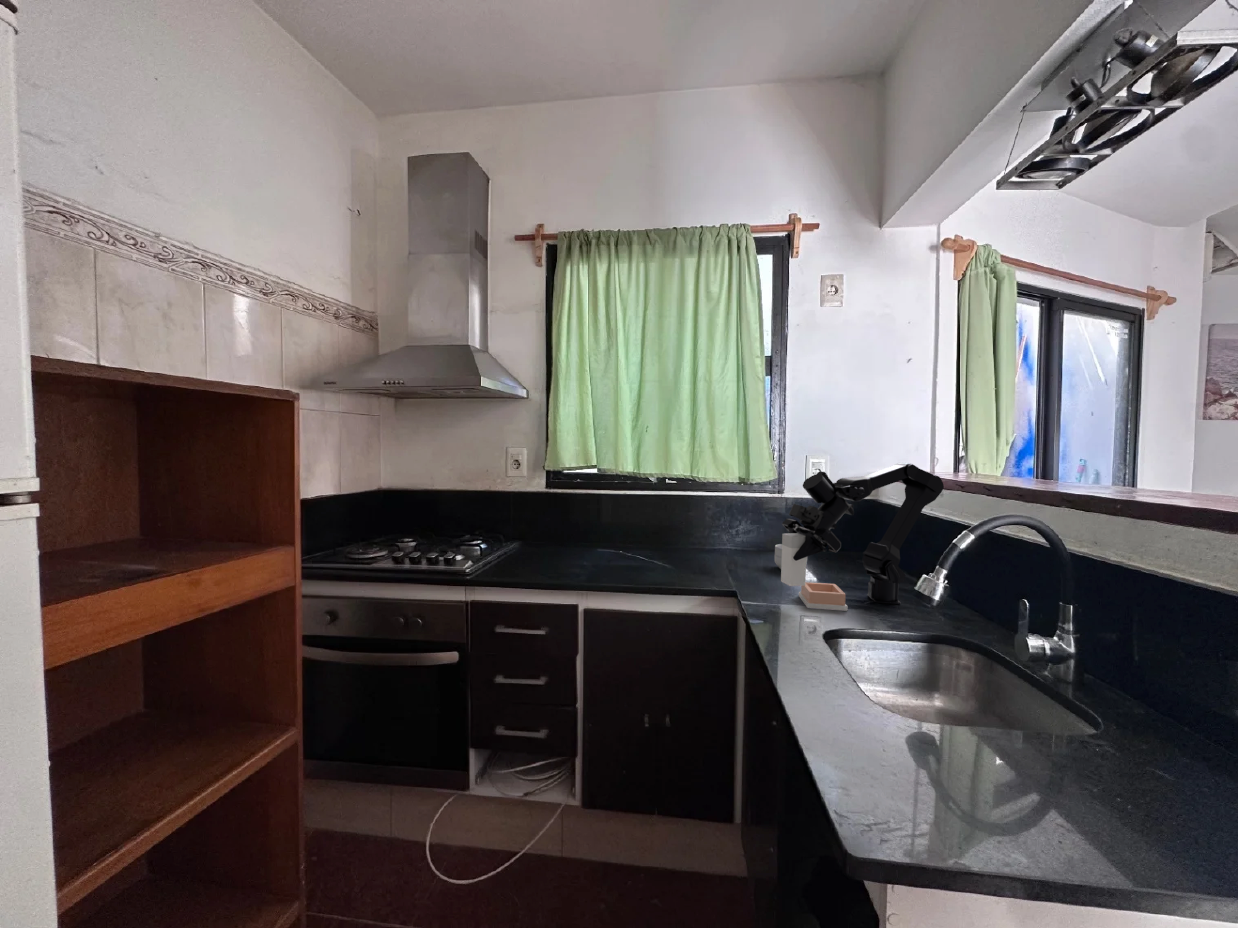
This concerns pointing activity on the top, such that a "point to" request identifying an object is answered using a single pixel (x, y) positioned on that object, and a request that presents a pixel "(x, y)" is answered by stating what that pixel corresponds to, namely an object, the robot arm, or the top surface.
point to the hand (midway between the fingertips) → (789, 557)
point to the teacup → (779, 555)
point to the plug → (792, 560)
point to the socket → (823, 596)
